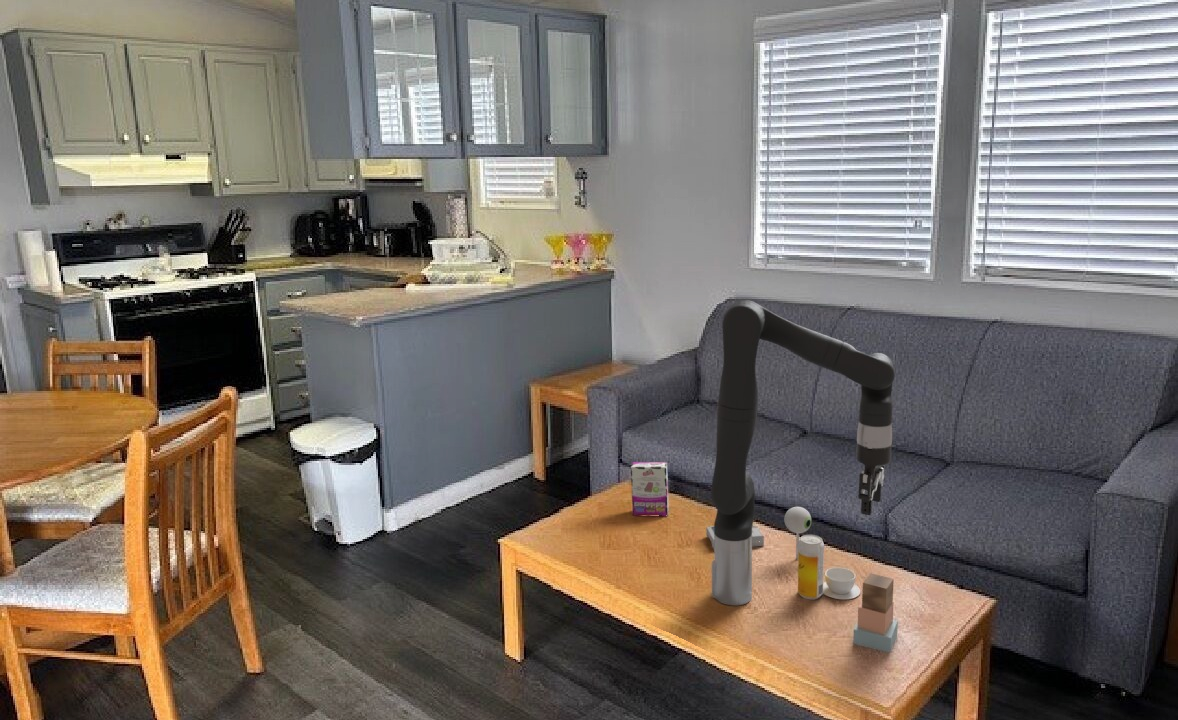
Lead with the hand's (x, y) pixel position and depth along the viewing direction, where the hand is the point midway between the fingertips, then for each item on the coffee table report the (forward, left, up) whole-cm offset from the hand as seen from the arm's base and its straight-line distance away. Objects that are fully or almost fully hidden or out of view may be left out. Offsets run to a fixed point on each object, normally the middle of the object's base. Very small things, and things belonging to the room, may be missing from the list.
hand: (871, 507), depth 192 cm
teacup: (-9, +8, -28) cm, 30 cm away
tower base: (+4, -10, -28) cm, 30 cm away
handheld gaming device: (-42, +23, -28) cm, 55 cm away
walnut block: (+4, -11, -19) cm, 22 cm away
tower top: (+4, -11, -24) cm, 26 cm away
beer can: (-14, +3, -27) cm, 31 cm away
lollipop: (-23, +20, -27) cm, 41 cm away
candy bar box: (-73, +30, -27) cm, 84 cm away
